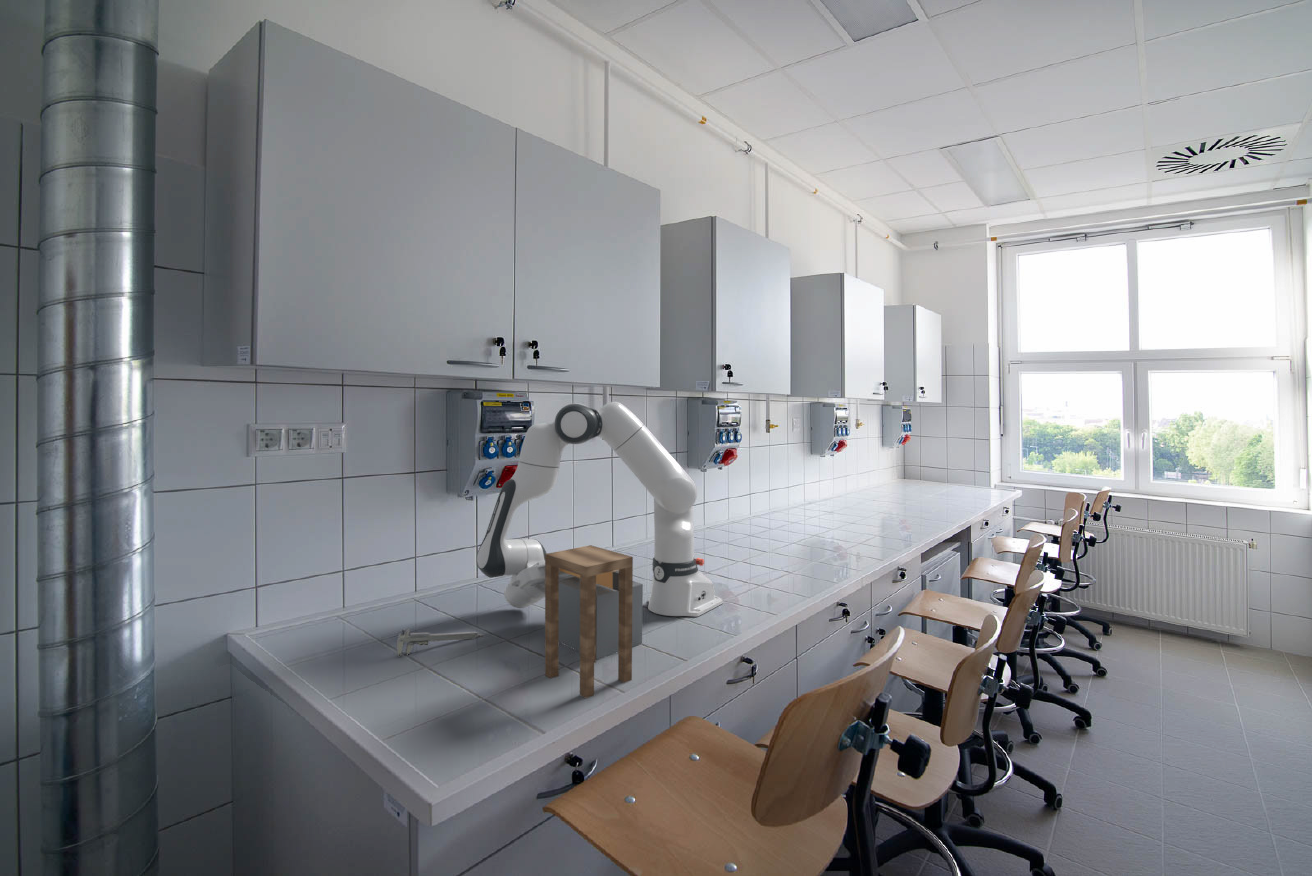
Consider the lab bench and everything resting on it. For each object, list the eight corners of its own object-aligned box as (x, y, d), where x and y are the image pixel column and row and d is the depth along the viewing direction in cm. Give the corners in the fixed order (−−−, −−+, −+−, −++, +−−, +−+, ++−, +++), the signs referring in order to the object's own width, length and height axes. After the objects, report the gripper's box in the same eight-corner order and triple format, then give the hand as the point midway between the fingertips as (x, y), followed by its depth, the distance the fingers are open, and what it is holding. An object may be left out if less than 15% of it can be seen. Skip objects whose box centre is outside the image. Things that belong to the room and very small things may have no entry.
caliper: (398, 659, 142) (397, 631, 142) (396, 657, 143) (396, 630, 142) (482, 637, 156) (482, 612, 155) (480, 635, 156) (480, 610, 156)
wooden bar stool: (590, 659, 142) (590, 545, 140) (631, 679, 132) (632, 556, 130) (545, 675, 134) (545, 553, 132) (586, 698, 124) (586, 567, 122)
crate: (599, 626, 163) (600, 570, 162) (642, 643, 152) (642, 584, 151) (554, 640, 153) (555, 581, 153) (596, 659, 142) (596, 596, 141)
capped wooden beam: (568, 566, 160) (568, 551, 160) (631, 587, 143) (632, 570, 143) (555, 569, 157) (555, 553, 157) (618, 591, 140) (618, 573, 140)
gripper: (505, 574, 159) (531, 556, 150) (571, 560, 173) (599, 543, 164) (511, 598, 157) (539, 581, 148) (578, 582, 171) (606, 566, 162)
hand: (571, 561), depth 156 cm, fingers closed on capped wooden beam, 4 cm apart
